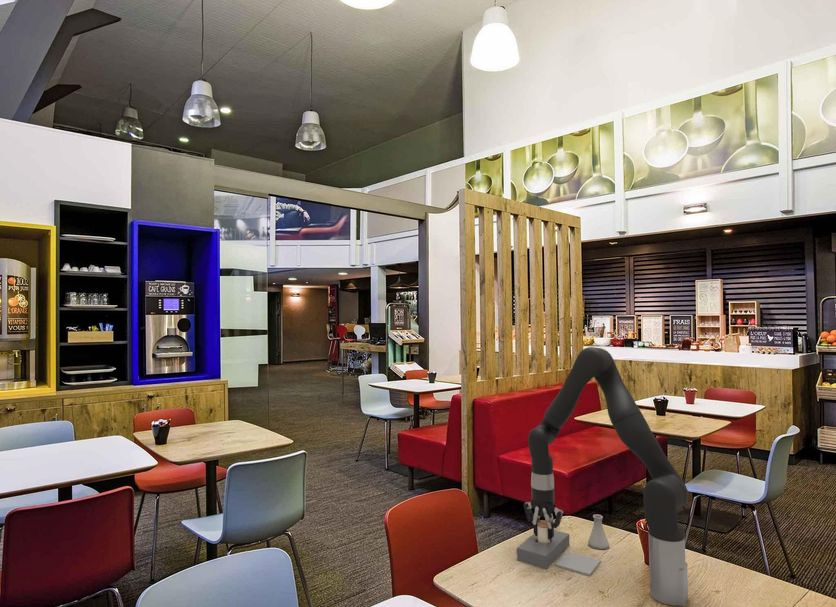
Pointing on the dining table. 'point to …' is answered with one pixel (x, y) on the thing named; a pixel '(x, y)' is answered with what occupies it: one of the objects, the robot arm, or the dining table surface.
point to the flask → (598, 534)
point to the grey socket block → (543, 550)
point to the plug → (543, 532)
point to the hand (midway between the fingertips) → (543, 536)
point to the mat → (578, 563)
